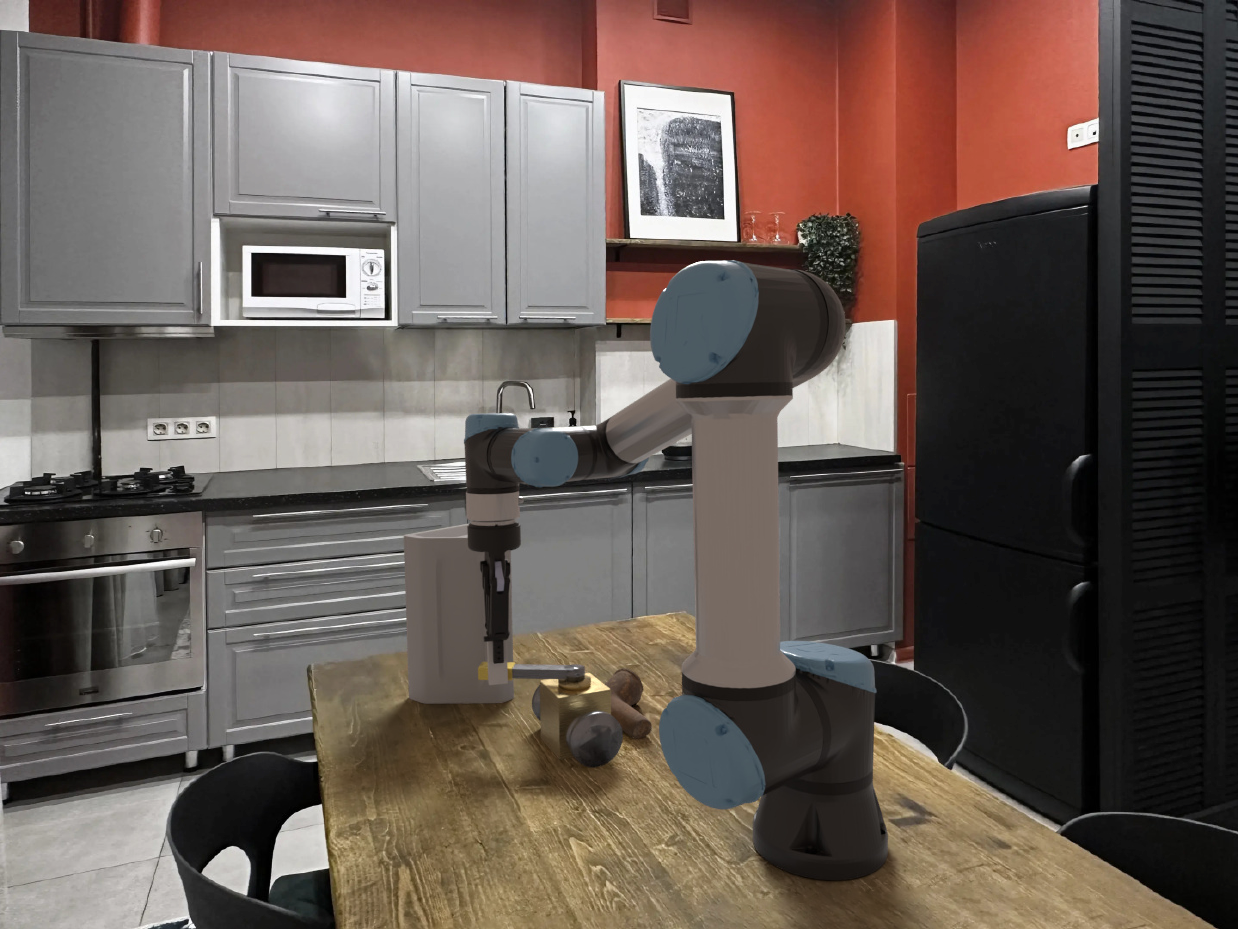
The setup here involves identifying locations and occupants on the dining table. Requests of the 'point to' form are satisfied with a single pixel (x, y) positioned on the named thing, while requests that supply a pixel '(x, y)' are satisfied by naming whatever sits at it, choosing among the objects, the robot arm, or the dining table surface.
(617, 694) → the pipe
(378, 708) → the dining table surface
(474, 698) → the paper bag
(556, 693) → the valve body
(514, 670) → the lever
